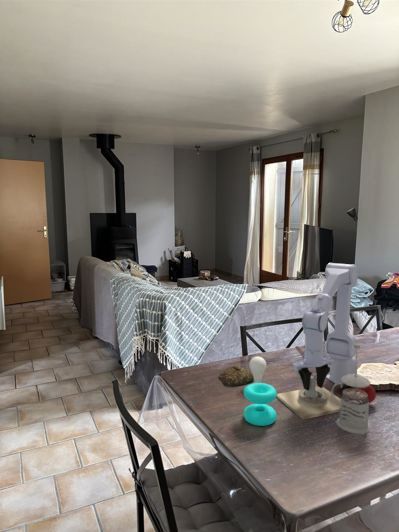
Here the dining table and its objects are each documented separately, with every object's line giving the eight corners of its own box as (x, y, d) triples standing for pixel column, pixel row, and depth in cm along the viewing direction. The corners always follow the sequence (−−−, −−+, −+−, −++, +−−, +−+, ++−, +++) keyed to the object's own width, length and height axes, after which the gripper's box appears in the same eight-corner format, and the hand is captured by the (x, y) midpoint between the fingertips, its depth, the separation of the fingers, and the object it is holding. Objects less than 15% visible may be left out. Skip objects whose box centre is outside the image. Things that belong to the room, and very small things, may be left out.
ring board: (321, 388, 144) (321, 380, 144) (351, 409, 129) (351, 400, 129) (276, 396, 138) (276, 388, 138) (302, 419, 123) (303, 410, 123)
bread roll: (257, 383, 150) (257, 370, 149) (227, 388, 146) (227, 375, 145) (242, 370, 162) (242, 358, 161) (214, 375, 158) (214, 363, 157)
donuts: (237, 386, 124) (261, 378, 130) (237, 416, 126) (261, 408, 131) (258, 399, 116) (283, 390, 121) (258, 431, 117) (283, 421, 123)
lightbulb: (265, 390, 143) (266, 360, 142) (248, 389, 145) (248, 359, 143) (266, 383, 149) (266, 354, 148) (250, 381, 151) (250, 353, 149)
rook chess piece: (302, 396, 136) (302, 374, 135) (314, 395, 137) (315, 373, 135) (307, 402, 132) (307, 379, 130) (320, 401, 132) (321, 378, 131)
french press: (368, 437, 113) (372, 351, 110) (326, 426, 120) (328, 344, 116) (374, 421, 122) (378, 341, 118) (334, 411, 128) (337, 335, 124)
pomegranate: (374, 401, 134) (375, 378, 133) (375, 409, 129) (377, 385, 127) (355, 398, 136) (356, 376, 135) (356, 406, 131) (357, 383, 129)
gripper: (324, 341, 137) (323, 379, 139) (287, 347, 132) (287, 386, 134) (338, 348, 131) (337, 388, 132) (300, 354, 126) (299, 395, 128)
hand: (312, 387), depth 133 cm, fingers open, 5 cm apart
